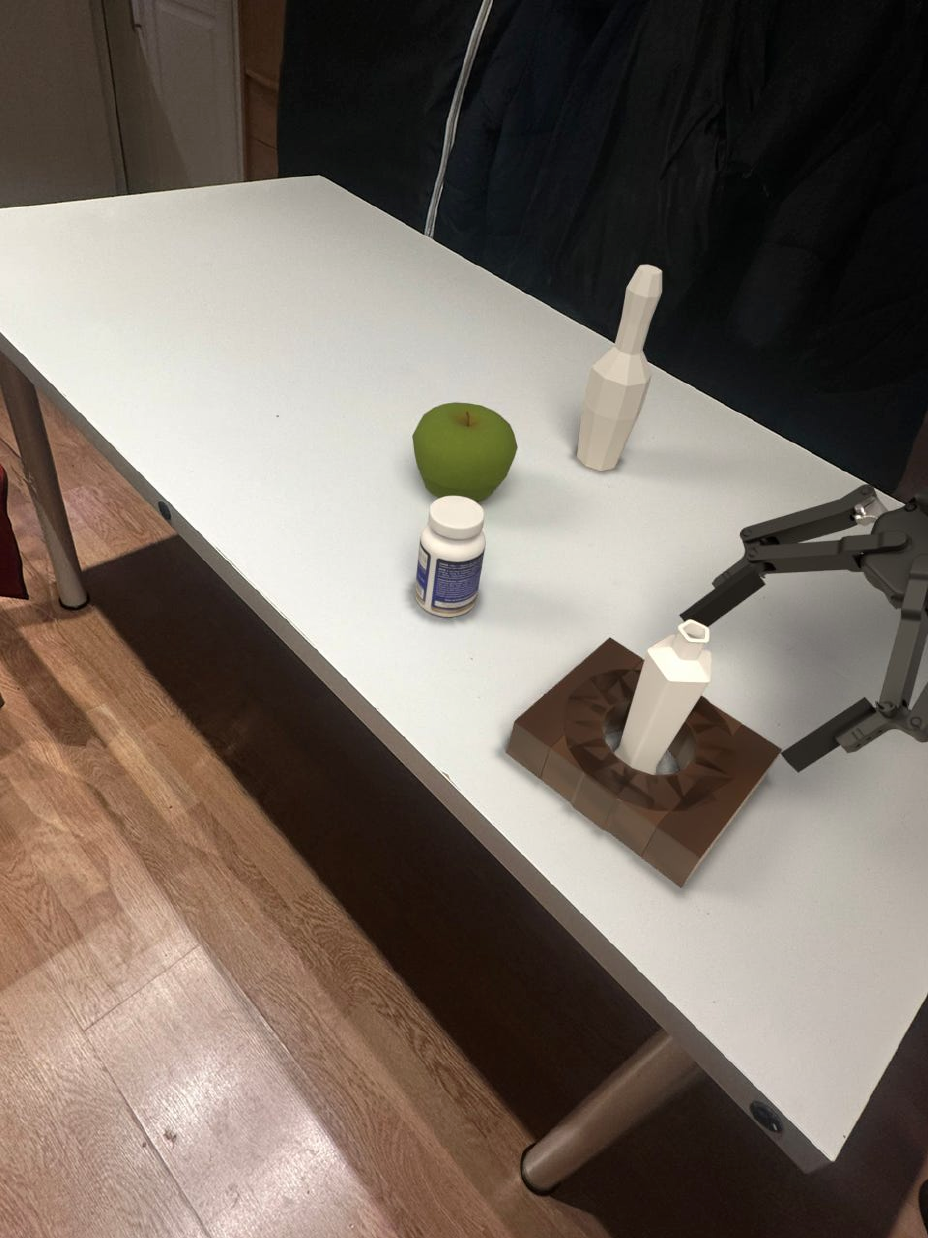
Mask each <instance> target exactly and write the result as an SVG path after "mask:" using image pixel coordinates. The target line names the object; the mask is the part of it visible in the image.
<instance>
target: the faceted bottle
mask: <svg viewBox="0 0 928 1238" xmlns="http://www.w3.org/2000/svg"><path fill="white" fill-rule="evenodd" d="M662 293H663V270H662V269H660V268H658V267H657V266H654V265H650V264H640V265H639V266H638V267H637V269H636V270H635V272H634V274H633V276H632V278H631V279H630V280H629V283H628V285H627V286H626V288H625V295H624V296H625V297H624V301H623V307H622V312H621V313H622V314H621V319H620V322H619V326H618V330H617V335H616V338H615V341H614V345H613V346H612V347H610V348H609V349H608V350H607V351H606V352H604V353H603V354H602V355H601V356H600V357H599V358H598V359H597V360H596V361H595V362H594V363H593V365H592V366H591V368H590V372H589V377H588V380H587V383H586V387H585V393H584V396H583V401H582V405H581V407H582V408H581V417H580V426H579V433H578V434H579V435H578V445H577V454H576V458H577V460H579V462H580V463H582V464H583V465H584V467H586V468H589V469H592V470H594V471H598V472H605V471H610V470H614V469H615V467H617V464H618V462H619V461H620V458H621V456H622V453H623V451H624V449H625V447H626V445H627V442H629V441H628V440H629V439H630V436H631V434H632V432H633V429H634V428H635V424H636V423H637V421H638V418H639V416H640V414H641V412H642V409H643V406H644V404H645V400H646V397H647V393H648V390H649V387H650V383H651V380H652V377H653V371H652V369H651V367H650V364H649V362H648V359H647V357H646V355H645V353H644V351H643V349H644V346H645V343H646V339H647V335H648V332H649V328H650V325H651V322H652V318H653V316H654V314H655V311H656V309H657V306H658V303H659V302H660V299H661V295H662Z"/></svg>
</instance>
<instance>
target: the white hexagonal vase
mask: <svg viewBox="0 0 928 1238" xmlns="http://www.w3.org/2000/svg"><path fill="white" fill-rule="evenodd" d="M677 630H678V632H677V633H676V634H675V633H671V634H670V635H668V636H667V637H665V638H663V639H662V640H660V641H659V642H657V643H655V644H654V645H652V646H651V647H649V648H648V649H647V650H646V654H645V657H644V659H643V660H644V664H643V667H642V671H641V674H640V677H639V681H638V684H637V688H636V691H635V694H634V698H633V701H632V705H631V708H630V711H629V715H628V718H627V722H626V725H625V728H624V730H623V732H622V736H621V739H620V742H619V746H618V747H617V748H616V749H615V750H614V751H613V753H614V754H615V755H616V756H617V757H618V758H619V759H621V760H622V761H624V762H625V763H626V764H628V765H629V766H630V767H632V768H634V769H637V770H640V771H643V772H646V773H649V774H652V775H657V773H656V772H657V766H658V764H659V763H660V761H661V759H662V758H663V756H664V755H665V753H666V752H667V751H668V747H669V745H670V744H671V742H672V741H673V739H674V737H675V736H676V734H677V733H678V731H679V729H680V728H681V726H682V725H683V723H684V722H685V720H686V718H687V717H688V715H689V714H690V712H691V710H692V709H693V707H694V706H695V704H696V703H697V701H698V699H699V698H700V696H701V695H702V696H703V693H704V692H705V690H706V688H707V687H708V685H709V684H710V682H711V677H712V652H711V651H709V650H707V649H705V648H704V647H705V645H706V644H707V643H709V642H710V628H709V627H706V626H704V625H702V624H700V623H698V622H696V621H694V620H687V621H686V622H684V621H683V622H682V623H680V624H679V625H678V626H677Z"/></svg>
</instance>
